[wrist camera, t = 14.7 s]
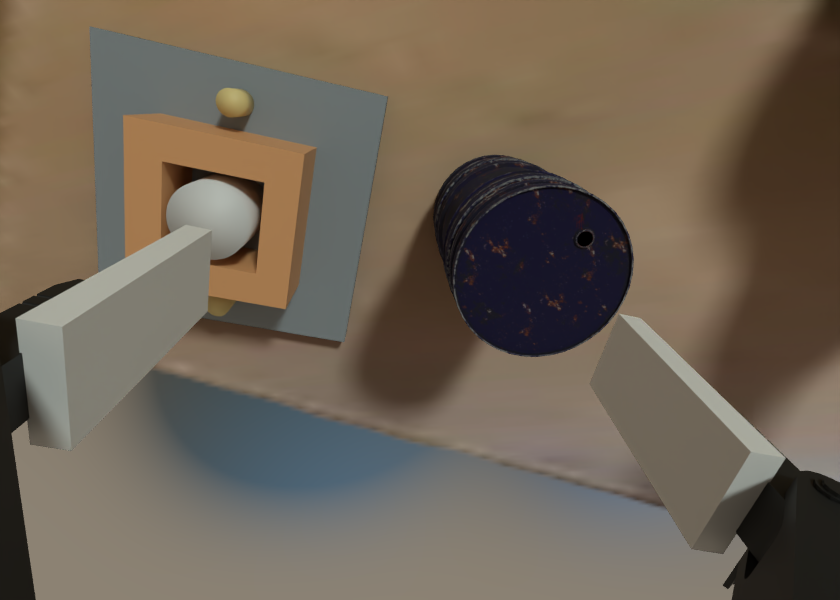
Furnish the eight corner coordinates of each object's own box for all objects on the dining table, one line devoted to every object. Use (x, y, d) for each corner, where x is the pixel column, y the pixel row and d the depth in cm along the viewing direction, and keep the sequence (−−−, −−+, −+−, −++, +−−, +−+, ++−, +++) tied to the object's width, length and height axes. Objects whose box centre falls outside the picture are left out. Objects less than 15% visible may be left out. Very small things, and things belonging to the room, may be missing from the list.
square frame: (160, 113, 34) (123, 114, 29) (316, 147, 35) (304, 154, 30) (158, 259, 38) (125, 281, 33) (298, 284, 39) (285, 309, 34)
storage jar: (488, 294, 42) (533, 389, 28) (406, 219, 39) (411, 283, 25) (576, 212, 39) (672, 271, 25) (495, 124, 36) (555, 138, 23)
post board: (102, 29, 33) (30, 11, 26) (387, 96, 35) (385, 95, 29) (109, 293, 40) (54, 330, 34) (345, 334, 43) (336, 375, 36)
